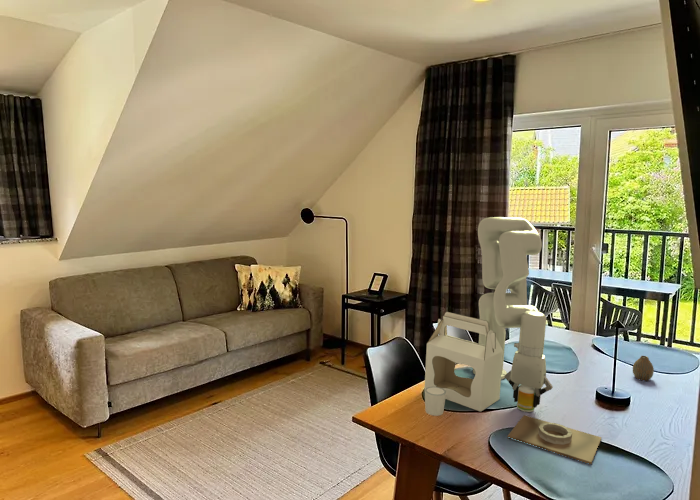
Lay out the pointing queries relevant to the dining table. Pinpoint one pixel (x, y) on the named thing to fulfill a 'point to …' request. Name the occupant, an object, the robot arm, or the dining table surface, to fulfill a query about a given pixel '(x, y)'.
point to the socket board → (569, 450)
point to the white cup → (435, 400)
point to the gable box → (464, 362)
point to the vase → (643, 368)
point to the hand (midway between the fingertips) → (526, 402)
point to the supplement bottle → (525, 398)
